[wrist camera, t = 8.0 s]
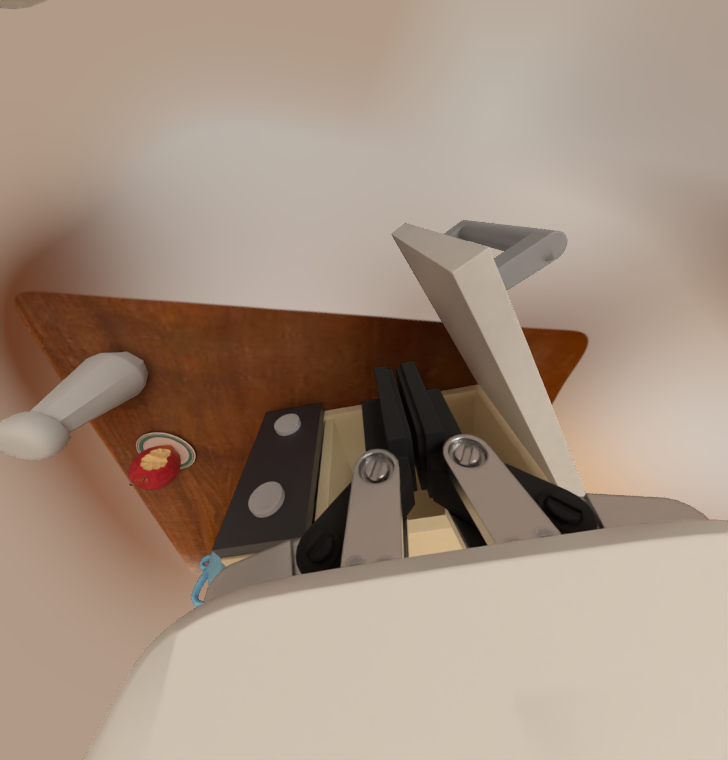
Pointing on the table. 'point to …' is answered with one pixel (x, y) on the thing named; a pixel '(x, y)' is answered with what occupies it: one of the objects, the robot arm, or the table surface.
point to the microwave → (341, 474)
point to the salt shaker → (73, 405)
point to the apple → (159, 460)
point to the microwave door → (495, 323)
